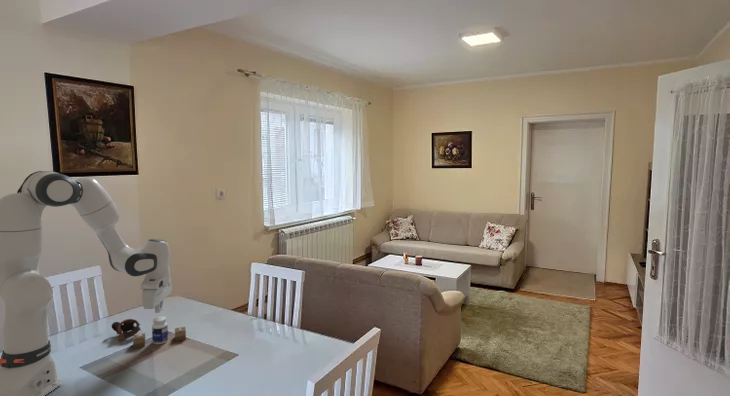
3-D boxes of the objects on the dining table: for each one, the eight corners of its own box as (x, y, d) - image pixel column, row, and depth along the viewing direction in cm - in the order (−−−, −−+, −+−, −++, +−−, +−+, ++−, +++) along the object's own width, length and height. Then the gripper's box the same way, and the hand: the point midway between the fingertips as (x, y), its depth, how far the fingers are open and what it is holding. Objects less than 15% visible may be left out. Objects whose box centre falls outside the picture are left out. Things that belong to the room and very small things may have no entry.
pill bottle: (149, 343, 163) (148, 320, 162) (160, 337, 168) (159, 314, 167) (160, 345, 161) (159, 322, 160) (171, 339, 167) (170, 316, 166)
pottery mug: (145, 331, 175) (145, 319, 171) (133, 349, 167) (132, 337, 163) (117, 324, 174) (116, 312, 170) (104, 342, 166) (102, 330, 162)
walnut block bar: (185, 339, 167) (185, 329, 167) (175, 341, 166) (175, 331, 165) (185, 335, 171) (185, 326, 170) (175, 337, 169) (174, 327, 169)
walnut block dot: (144, 346, 160) (144, 336, 160) (133, 348, 159) (132, 338, 158) (145, 342, 164) (145, 332, 163) (134, 344, 162) (133, 334, 162)
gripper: (160, 271, 172) (160, 302, 173) (138, 286, 152) (139, 321, 153) (175, 271, 172) (176, 302, 174) (156, 286, 152) (156, 321, 154)
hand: (158, 311), depth 163 cm, fingers closed
